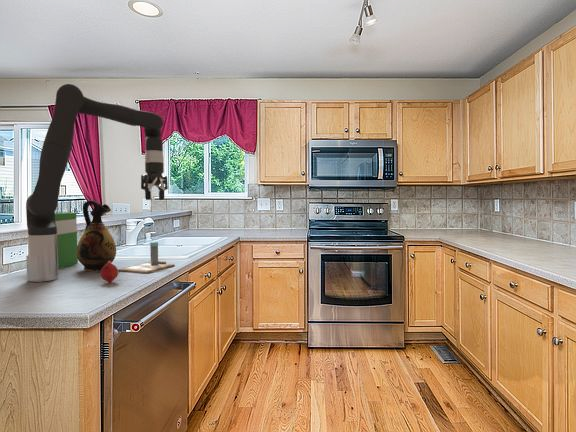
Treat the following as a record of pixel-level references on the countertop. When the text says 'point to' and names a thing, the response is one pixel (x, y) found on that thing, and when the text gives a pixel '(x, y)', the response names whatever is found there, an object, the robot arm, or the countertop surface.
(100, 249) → the ceramic jug
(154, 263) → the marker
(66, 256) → the hardback book
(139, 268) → the clipboard
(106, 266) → the onion
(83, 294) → the countertop surface
